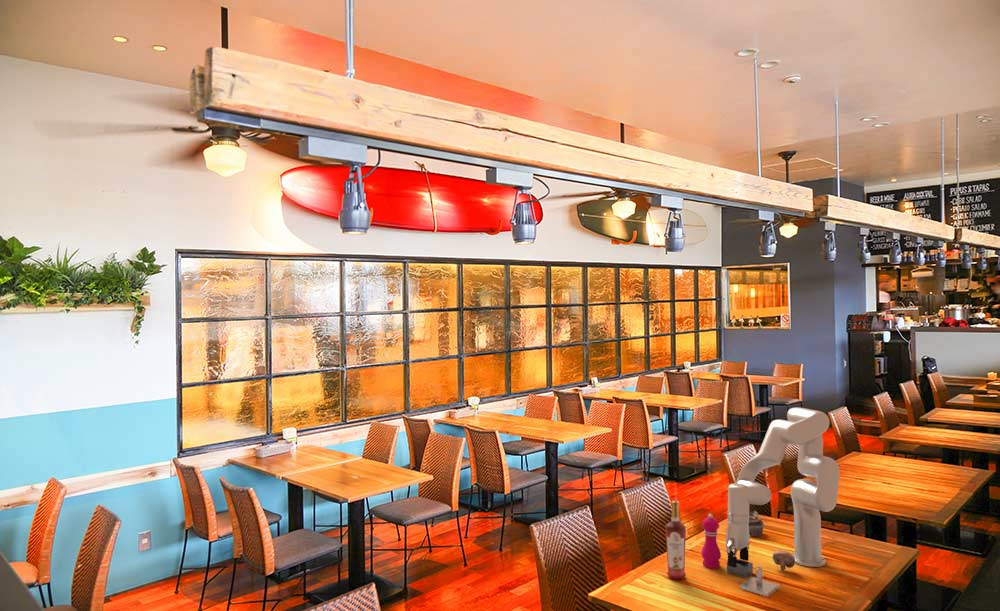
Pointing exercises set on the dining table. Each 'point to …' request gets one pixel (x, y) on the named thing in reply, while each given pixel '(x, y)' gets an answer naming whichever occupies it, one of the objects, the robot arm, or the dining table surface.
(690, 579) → the dining table surface
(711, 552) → the pepper mill
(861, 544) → the dining table surface
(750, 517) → the cupcake
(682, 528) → the liquor
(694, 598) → the dining table surface
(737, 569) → the grey rectangular frame
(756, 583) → the keeper
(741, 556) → the robot arm
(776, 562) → the mushroom
